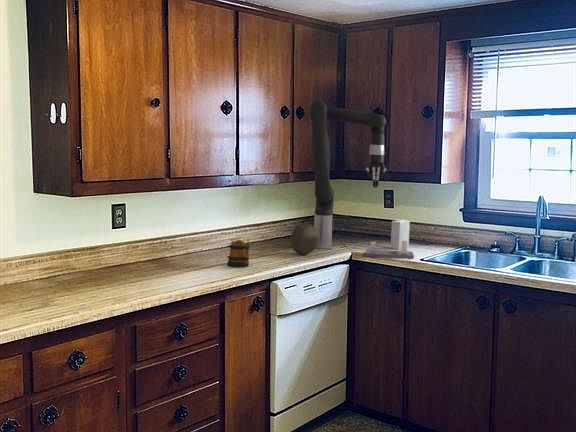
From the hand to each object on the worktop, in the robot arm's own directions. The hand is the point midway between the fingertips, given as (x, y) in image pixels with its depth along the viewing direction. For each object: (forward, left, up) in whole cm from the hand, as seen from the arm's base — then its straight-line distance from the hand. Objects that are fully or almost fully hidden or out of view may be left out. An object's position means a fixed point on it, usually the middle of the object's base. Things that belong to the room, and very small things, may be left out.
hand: (375, 187), depth 331 cm
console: (+8, -18, -32) cm, 38 cm away
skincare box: (+14, +4, -32) cm, 35 cm away
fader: (+15, -19, -30) cm, 39 cm away
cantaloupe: (-33, -27, -32) cm, 53 cm away
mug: (-58, -62, -32) cm, 91 cm away
